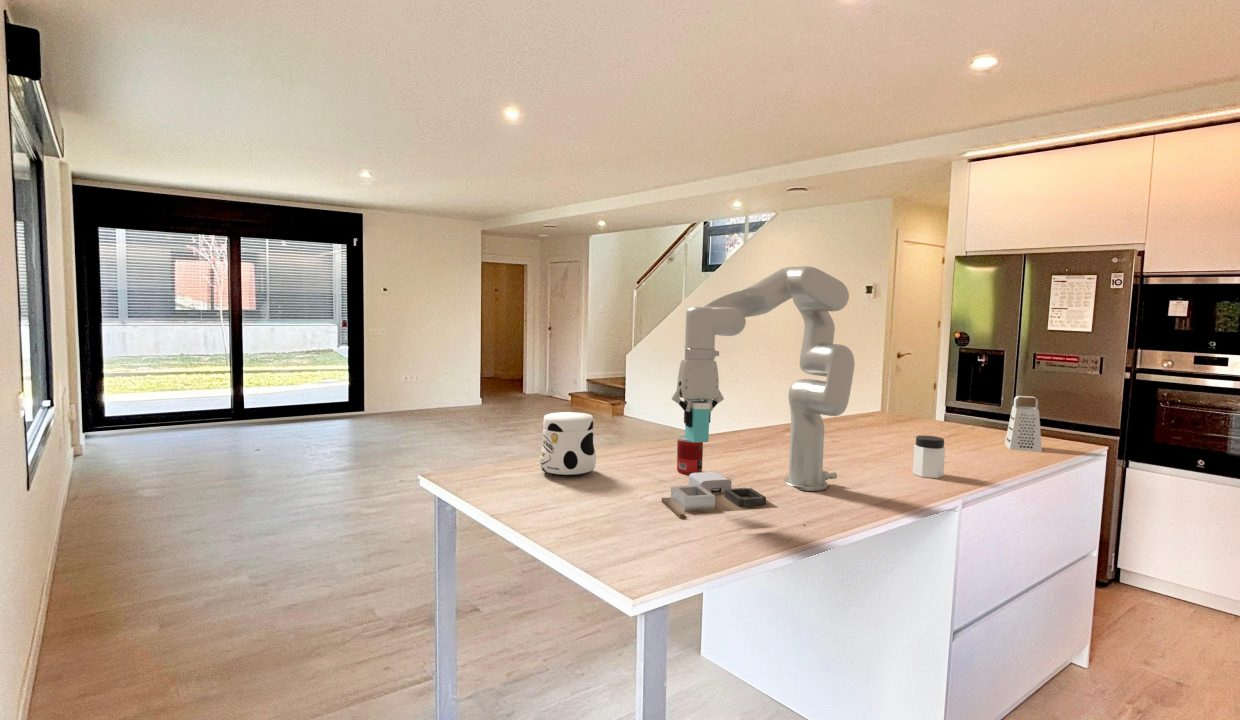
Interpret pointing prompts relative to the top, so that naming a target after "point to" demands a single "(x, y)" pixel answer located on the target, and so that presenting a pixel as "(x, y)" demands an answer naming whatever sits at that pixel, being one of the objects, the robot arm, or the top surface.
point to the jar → (929, 457)
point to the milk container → (568, 444)
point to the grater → (1024, 428)
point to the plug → (699, 422)
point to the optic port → (692, 498)
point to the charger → (710, 481)
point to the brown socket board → (727, 502)
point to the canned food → (689, 456)
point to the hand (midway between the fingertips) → (696, 425)
